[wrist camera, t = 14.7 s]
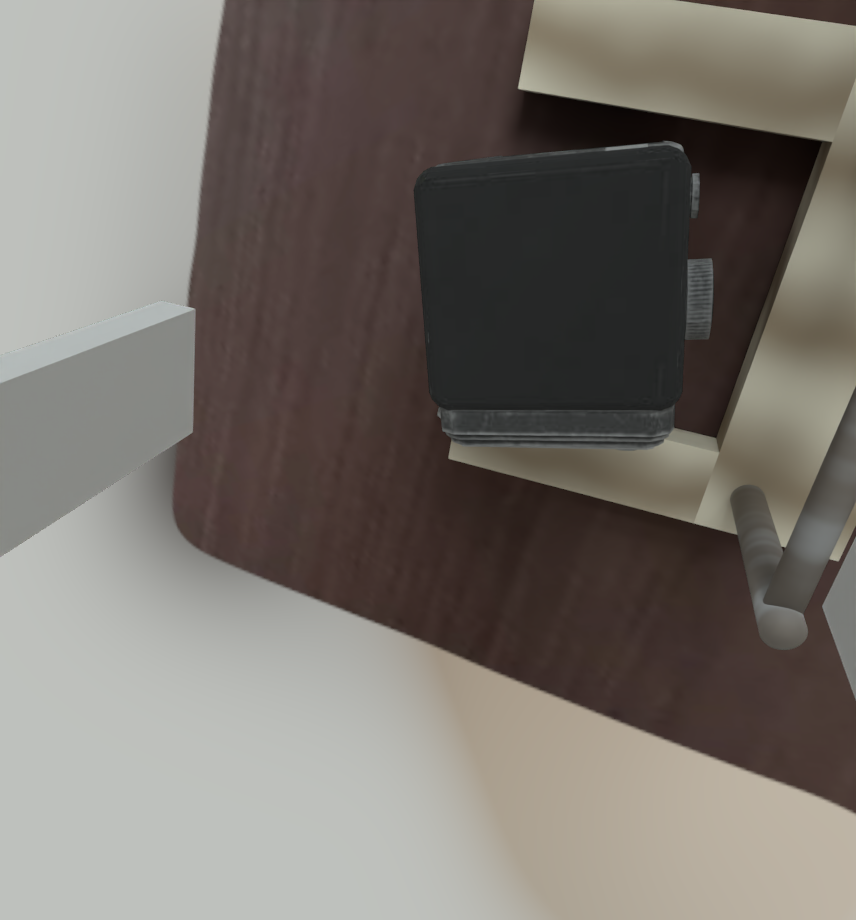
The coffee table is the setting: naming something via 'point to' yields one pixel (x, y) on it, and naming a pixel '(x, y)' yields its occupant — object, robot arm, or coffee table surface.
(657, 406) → the camera
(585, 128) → the coffee table surface
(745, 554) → the wooden rack
